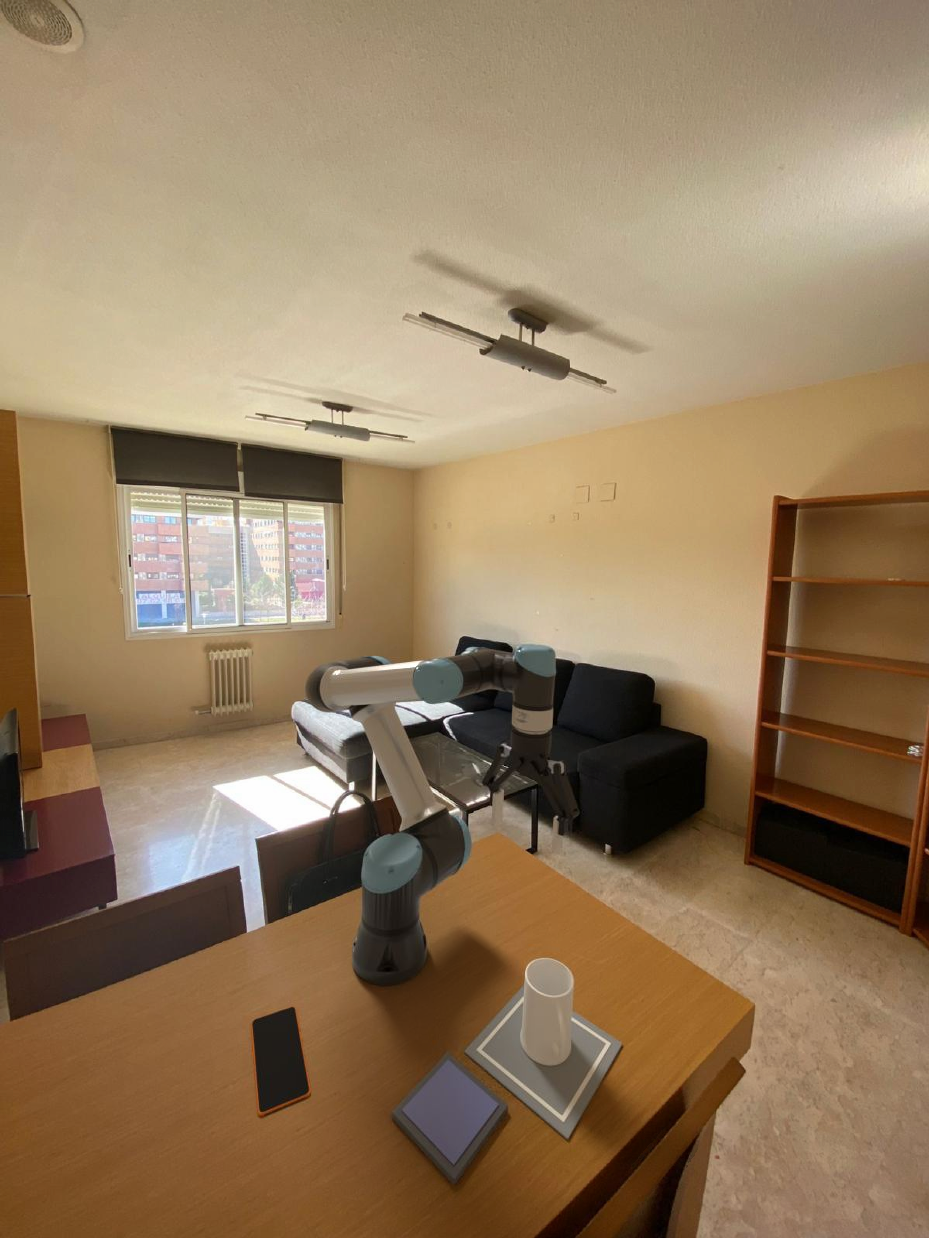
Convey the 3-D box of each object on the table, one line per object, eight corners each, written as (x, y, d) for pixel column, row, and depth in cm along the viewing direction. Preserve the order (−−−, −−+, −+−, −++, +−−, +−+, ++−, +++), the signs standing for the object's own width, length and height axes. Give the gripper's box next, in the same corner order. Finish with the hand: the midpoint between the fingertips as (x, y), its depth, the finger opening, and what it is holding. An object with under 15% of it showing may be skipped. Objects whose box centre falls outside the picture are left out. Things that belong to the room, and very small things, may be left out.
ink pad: (391, 1117, 73) (391, 1110, 73) (447, 1057, 82) (447, 1050, 82) (454, 1185, 65) (454, 1177, 65) (507, 1110, 74) (508, 1103, 74)
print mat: (464, 1052, 83) (464, 1050, 83) (527, 982, 97) (527, 980, 97) (567, 1140, 71) (567, 1137, 71) (622, 1044, 85) (622, 1042, 85)
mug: (584, 1086, 78) (589, 1015, 77) (529, 1088, 77) (533, 1017, 76) (563, 1017, 90) (567, 955, 88) (515, 1019, 89) (519, 956, 88)
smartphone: (258, 1120, 72) (258, 1115, 72) (250, 1024, 87) (250, 1019, 87) (312, 1097, 75) (312, 1092, 75) (296, 1008, 90) (296, 1003, 90)
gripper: (467, 717, 99) (463, 819, 101) (583, 751, 83) (575, 871, 85) (490, 709, 105) (486, 806, 107) (603, 740, 89) (595, 853, 91)
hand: (525, 835), depth 96 cm, fingers open, 13 cm apart
